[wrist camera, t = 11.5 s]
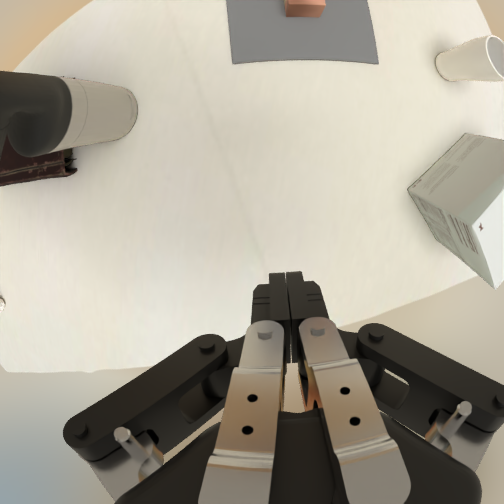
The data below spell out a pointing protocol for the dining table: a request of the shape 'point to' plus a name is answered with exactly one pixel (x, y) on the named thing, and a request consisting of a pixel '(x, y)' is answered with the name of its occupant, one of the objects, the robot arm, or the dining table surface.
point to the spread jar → (1, 305)
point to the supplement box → (468, 203)
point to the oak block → (304, 8)
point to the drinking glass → (473, 61)
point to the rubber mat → (301, 32)
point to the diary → (32, 165)
